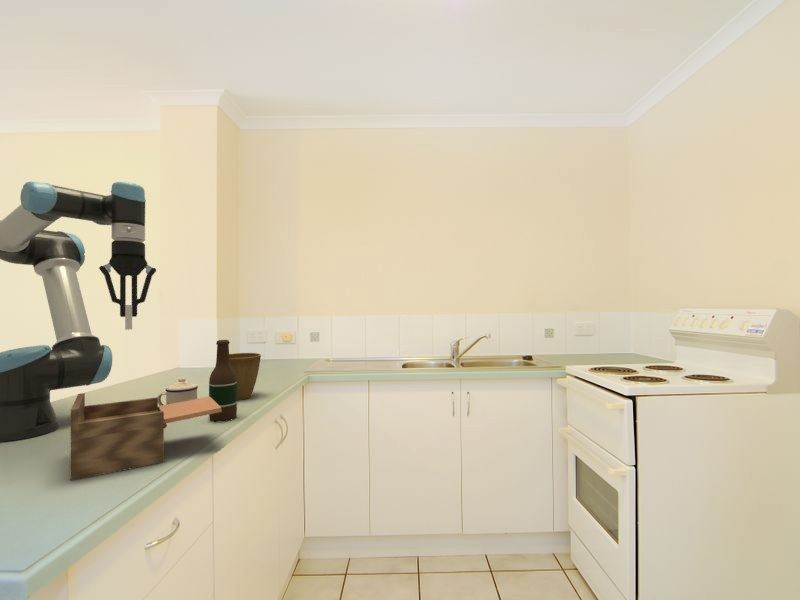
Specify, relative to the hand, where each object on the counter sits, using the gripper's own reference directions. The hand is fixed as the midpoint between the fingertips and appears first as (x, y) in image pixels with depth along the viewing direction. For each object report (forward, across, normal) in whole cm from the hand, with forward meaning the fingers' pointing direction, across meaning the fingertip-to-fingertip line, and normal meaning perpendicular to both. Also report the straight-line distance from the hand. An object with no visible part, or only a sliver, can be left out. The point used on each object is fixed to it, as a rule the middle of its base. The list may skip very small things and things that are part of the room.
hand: (128, 329), depth 108 cm
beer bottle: (+29, +24, +2) cm, 37 cm away
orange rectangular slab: (+20, +6, -18) cm, 28 cm away
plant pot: (+29, +35, +28) cm, 53 cm away
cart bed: (+28, -2, -18) cm, 34 cm away
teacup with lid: (+29, +13, +15) cm, 35 cm away
